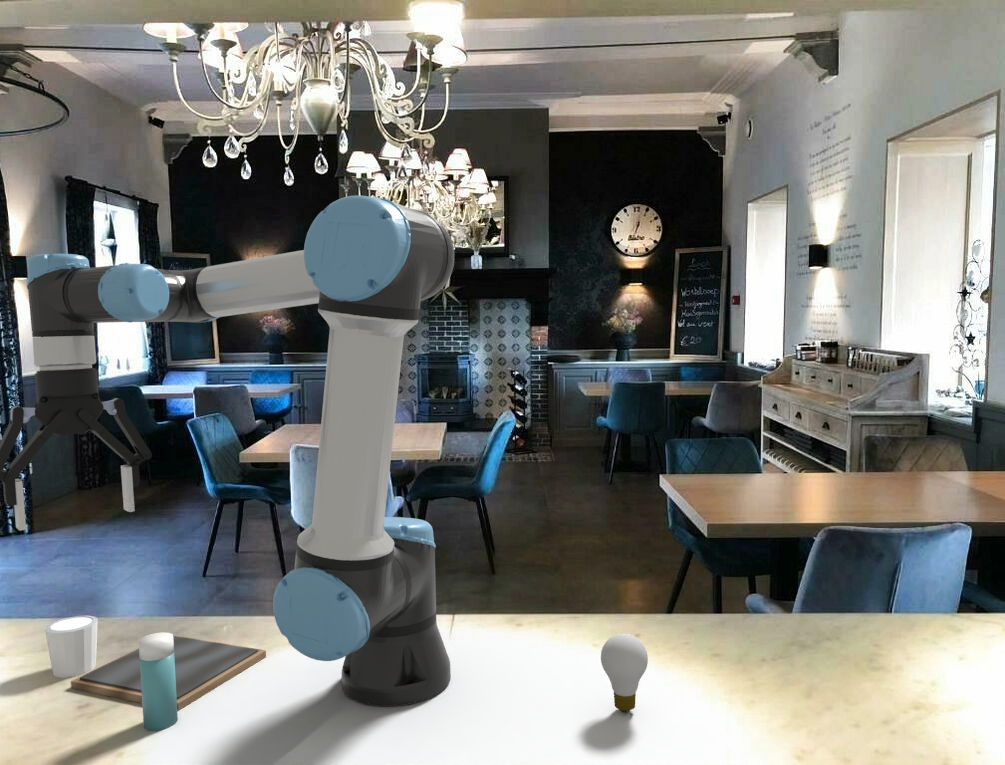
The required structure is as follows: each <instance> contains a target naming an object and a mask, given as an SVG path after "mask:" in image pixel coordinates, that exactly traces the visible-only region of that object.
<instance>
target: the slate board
mask: <svg viewBox="0 0 1005 765" xmlns="http://www.w3.org/2000/svg"><path fill="white" fill-rule="evenodd" d="M173 641H174V659H175V677H176V695H177V711H180V710H182V709H183V708H185V707H186V706H187V707H188V706H189V705H190V704H191V703H193V702H195V701H196V700H198V699H200V698H201V697H203V696H204V695H206V694H208V693H210V692H211V691H213V690H214V689H216V688H218V687H219V686H221V685H223V684H224V683H226V682H227V681H229V680H231V679H232V678H235V677H236V676H237V675H239V674H240V673H243V671H245V670H247V669H248V668H250V667H252V666H254V665H255V664H256V663H259V662H260V661H261V660H264V658H266V657H267V651H266V650H265V649H259V648H254V647H247V646H241V645H236V644H235V645H234V644H229V643H223V642H218V641H217V642H216V641H210V640H205V639H204V640H203V639H199V638H192V637H186V636H179V635H174V634H173ZM70 687H71V688H70V689H74V690H79V691H84V692H89V693H92V694H93V693H94V694H98V695H103V696H108V697H112V698H116V699H122V700H127V701H132V702H135V703H136V702H137V703H140V704H142V690H141V673H140V656H139V647H138V648H137V649H133V650H132V651H130V652H128V653H126V654H124V655H121V656H120V657H118V658H116V659H114V660H111V661H110V662H107V663H105V664H103V665H101V666H99V667H97V668H95V669H92V670H91V671H88V672H86V673H84V674H82V675H80V676H79V677H77V678H74V679H72V680H71V681H70Z"/></svg>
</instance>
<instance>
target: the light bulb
mask: <svg viewBox="0 0 1005 765" xmlns="http://www.w3.org/2000/svg"><path fill="white" fill-rule="evenodd" d="M601 648H602V649H601V651H600V653H601V654H600V661H601V662H600V663H601V666H602V668H603V671H604V672H605V674H606V676H608V679H609V681H610V684H611V689H612V690H613V699H614V702H613V703H614V707H615V708H616V709H617V710H619V711H620V712H621V713H623V714H626V713H629V712H630V711H632V710H634V709H635V708H636V698H637V697H636V696H637V695H636V692H637V691H638V687H639V683H640V680H641V678H642V677H643V675H644V674H645V672H646V670H647V667H648V662H649V659H648V658H649V656H648V652H647V650H646V647H645V645H644V644H643V642H642V641H641V640H640V639H639V638H637V636H635V635H633V634H628V633H618V634H614V635H612V636H611V637H609V638H608V639H607V640H606V641H605V642H604V643H603V646H602V647H601Z"/></svg>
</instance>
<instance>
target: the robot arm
mask: <svg viewBox="0 0 1005 765" xmlns="http://www.w3.org/2000/svg"><path fill="white" fill-rule="evenodd" d="M304 241H305V242H304V247H303V250H296V251H290V252H285V253H284V252H283V253H279V254H275V255H274V254H273V255H268V256H261V257H255V258H250V259H244V260H238V261H232V262H228V263H227V262H226V263H220V264H215V265H209V266H205V267H198V268H197V267H196V268H193V269H185V270H175V269H174V270H173V269H162V268H155V267H153V266H152V265H150V264H146V263H129V262H125V263H119V264H115V265H104V266H95V267H94V266H93V267H90V260H89V259H88V258H87V257H86V256H84V255H82V254H81V255H79V254H72V253H41V254H35V255H32V256H31V257H30V258H29V260H27V284H26V289H27V292H28V293H27V294H28V303H29V304H28V306H29V315H30V325H31V326H30V327H31V336H32V350H33V363H34V364H33V365H34V366H35V367H39V370H37V371H36V372H35V373H34V378H35V379H34V380H35V394H36V403H35V405H34V407H21V406H18V405H14V406H12V407H11V408H10V409H9V422H8V425H7V427H6V429H5V431H4V433H3V436H2V437H1V439H0V481H1V482H2V485H3V486H2V487H3V488H2V489H3V498H4V499H3V500H4V503H5V504H6V505H7V507H12V506H13V508H14V518H15V519H14V520H15V528H16V529H17V530H18V531H25V530H27V523H26V522H27V521H26V512H25V498H24V487H23V480H21V479H20V478H18V476H19V475H20V474H21V473H22V471H23V470H24V469H25V468H26V466H27V465H28V464H29V463H30V462H31V461H32V459H34V457H35V456H36V455H37V453H38V451H39V450H40V449H42V447H43V446H44V445H45V444H46V443H47V441H48V440H50V438H51V437H52V436H53V435H56V436H59V437H65V436H69V435H72V434H74V435H84V434H86V433H88V432H89V431H90V432H91V433H92V434H94V435H95V436H96V437H97V438H98V439H100V441H102V442H103V443H104V444H105V445H107V446H108V448H110V449H111V450H112V451H113V452H114V453H115V454H117V455H118V456H119V457H120V458H121V459H122V460H123V461H124V462H125V463H126V464H123V465H120V477H121V489H122V491H121V492H122V501H123V510H124V511H126V512H129V513H133V512H135V511H136V510H135V496H134V488H137V487H139V486H140V483H141V480H140V478H141V476H140V466H141V464H142V462H144V461H146V460H151V458H152V456H153V454H152V451H151V450H150V448H149V447H148V445H147V444H146V443H145V441H144V439H143V438H142V436H141V434H140V433H139V431H138V430H137V428H136V427H135V425H134V424H133V422H132V420H131V418H130V417H129V415H128V414H127V411H126V406H125V401H124V399H121V398H117V397H114V398H112V399H111V400H107V401H106V400H104V401H102V400H101V398H100V395H99V394H100V393H99V382H98V379H99V378H98V370H97V369H96V368H95V367H94V368H93V365H95V364H96V363H97V354H96V341H95V330H94V329H95V328H94V324H97V323H98V324H99V323H102V324H103V323H165V322H168V323H169V322H171V323H172V322H173V323H174V322H178V323H180V322H181V323H182V322H183V323H194V324H198V323H207V322H212V321H215V320H217V319H219V318H222V317H229V316H236V315H243V314H250V313H257V312H264V311H266V312H267V311H271V310H277V309H280V310H281V309H286V308H293V307H300V306H308V305H315V304H318V305H317V306H318V308H317V312H318V313H319V315H321V317H322V318H323V319H324V320H325V321H326V323H327V325H328V327H329V334H328V344H327V356H326V366H325V379H324V388H323V389H324V390H323V397H322V398H323V400H322V410H321V421H320V423H321V424H320V432H319V434H320V435H319V442H318V443H319V444H318V452H317V453H318V455H317V464H316V465H317V466H316V476H315V477H316V478H315V485H314V496H313V497H314V498H313V509H312V519H311V524H310V525H308V527H306V528H305V529H304V530H302V532H300V533H299V535H298V536H297V539H296V549H295V560H294V569H291V570H290V571H289V572H287V574H286V575H284V576H283V578H282V579H281V580H280V581H279V582H278V584H277V586H276V588H275V590H274V594H273V599H272V611H273V617H274V620H275V623H276V626H277V628H278V630H279V631H280V634H281V635H283V636H284V637H285V638H286V639H287V640H288V644H289V645H290V646H291V647H292V648H293V649H294V650H296V651H297V652H299V653H300V654H301V655H304V656H306V657H307V658H308V659H309V658H310V659H312V660H316V661H321V662H331V661H332V662H333V661H338V660H340V659H342V658H344V660H343V664H342V667H341V668H342V669H341V689H342V691H343V694H345V696H346V697H348V698H349V699H351V700H353V701H355V702H357V703H360V704H363V705H364V704H365V705H367V706H368V705H369V706H373V707H374V706H376V707H397V706H404V705H405V706H406V705H411V704H415V703H420V702H422V701H425V700H427V699H428V700H429V699H430V698H432V697H435V696H436V695H438V694H440V693H441V692H442V691H444V690H445V689H446V688H447V687H448V685H450V682H451V679H452V678H451V676H452V675H451V672H452V671H451V660H450V658H449V654H448V652H447V649H446V646H445V644H444V640H443V638H442V636H441V632H440V629H439V628H438V623H437V597H436V596H437V591H436V588H437V587H436V552H435V551H436V548H437V547H436V546H437V545H436V543H435V537H434V530H433V526H432V525H431V524H430V523H429V522H428V521H426V520H424V519H419V518H413V517H401V516H386V508H387V498H388V491H389V490H388V489H389V480H390V470H391V460H392V459H391V458H392V450H393V443H394V441H393V440H394V432H395V431H394V430H395V424H396V412H397V405H398V404H397V403H398V395H399V394H398V392H399V385H400V374H401V365H402V357H403V346H404V338H405V335H406V333H407V332H408V331H410V330H411V329H412V328H413V327H415V326H416V325H417V324H418V323H419V318H420V309H421V302H422V301H425V300H427V299H430V298H431V297H434V296H435V295H436V294H437V293H439V292H440V291H441V290H442V289H443V288H444V286H446V284H447V282H448V281H449V280H450V277H451V275H452V274H453V269H454V265H455V247H454V244H453V241H452V238H451V235H450V234H449V233H448V230H447V229H446V228H445V226H444V225H443V224H442V223H441V222H440V221H439V220H438V219H436V218H435V217H433V216H432V215H430V214H428V213H426V212H424V211H422V210H418V209H415V208H410V207H408V206H405V205H402V204H399V203H396V202H393V201H391V200H389V199H387V198H381V197H377V196H367V195H348V196H345V197H342V198H339V199H337V200H335V201H333V202H331V203H329V205H327V206H326V207H325V208H324V209H323V210H321V211H320V212H319V213H318V214H317V216H316V217H315V218H314V220H313V221H312V223H311V224H310V227H309V229H308V231H307V232H306V237H305V240H304ZM104 410H106V412H107V413H108V414H109V415H110V416H111V415H112V416H113V417H114V418H113V419H115V422H116V424H118V426H119V428H120V429H121V431H122V432H123V433H124V435H125V437H126V439H127V440H128V441H129V443H130V444H131V446H132V447H133V449H134V452H135V453H133V452H132V451H130V449H129V448H128V447H127V446H125V445H124V444H123V443H122V442H121V441H120V440H118V439H117V437H115V436H114V435H113V434H112V433H111V432H109V430H108V429H107V428H106V427H105V426H104V425H102V423H101V422H100V421H98V419H99V417H100V416H101V415H102V413H103V412H104ZM31 417H34V418H36V419H37V420H38V422H40V423H41V426H40V427H39V428H38V429H37V430H36V431H35V433H34V435H33V436H32V437H31V439H29V440H28V442H27V443H26V444H25V446H24V447H23V448H22V449H21V451H20V452H19V453H18V454H17V456H16V457H15V458H14V459H13V461H12V462H10V464H9V465H8V466H7V467H6V469H4V470H3V468H4V467H5V465H6V463H7V461H8V458H9V457H10V454H11V451H12V450H13V447H14V445H15V444H16V441H17V439H18V437H19V435H20V433H21V430H22V428H23V426H24V424H26V423H28V422H29V421H30V419H31Z"/></svg>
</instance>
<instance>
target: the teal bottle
mask: <svg viewBox="0 0 1005 765" xmlns="http://www.w3.org/2000/svg"><path fill="white" fill-rule="evenodd" d="M173 635H174V634H173V633H171V632H155V633H151V634H147V635H145V636H143V637H141V638H140V639H139V640H138V648H139V656H140V673H141V690H142V703H141V706H142V707H141V708H142V720H143V723H142V724H143V728H144V730H146V731H151V732H153V731H155V732H158V731H162V730H165V729H168V728H171V727H172V726H174V725H176V723H178V720H179V718H178V717H179V716H178V715H179V714H178V710H177V695H176V677H175V659H174V641H173Z"/></svg>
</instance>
